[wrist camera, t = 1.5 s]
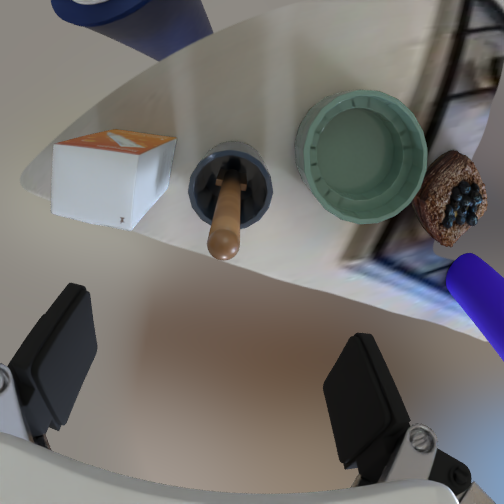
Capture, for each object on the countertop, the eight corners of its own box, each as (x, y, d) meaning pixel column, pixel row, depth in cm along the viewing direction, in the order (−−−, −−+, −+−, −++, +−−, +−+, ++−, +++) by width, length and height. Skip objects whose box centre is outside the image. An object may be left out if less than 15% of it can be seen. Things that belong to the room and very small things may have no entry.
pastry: (400, 191, 34) (423, 207, 29) (455, 139, 31) (483, 147, 25) (432, 246, 38) (453, 265, 33) (481, 197, 34) (505, 210, 29)
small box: (178, 136, 31) (141, 154, 19) (168, 189, 33) (132, 234, 22) (113, 127, 29) (51, 142, 18) (107, 178, 32) (49, 216, 21)
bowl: (310, 76, 28) (323, 70, 23) (415, 116, 30) (440, 120, 25) (280, 192, 34) (287, 207, 29) (383, 218, 36) (402, 235, 31)
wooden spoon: (221, 163, 32) (196, 230, 15) (247, 168, 32) (254, 241, 15) (217, 178, 33) (192, 261, 16) (244, 184, 33) (246, 271, 16)
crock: (207, 135, 31) (196, 143, 24) (272, 148, 32) (281, 160, 25) (195, 197, 34) (183, 222, 27) (257, 209, 35) (261, 236, 28)
